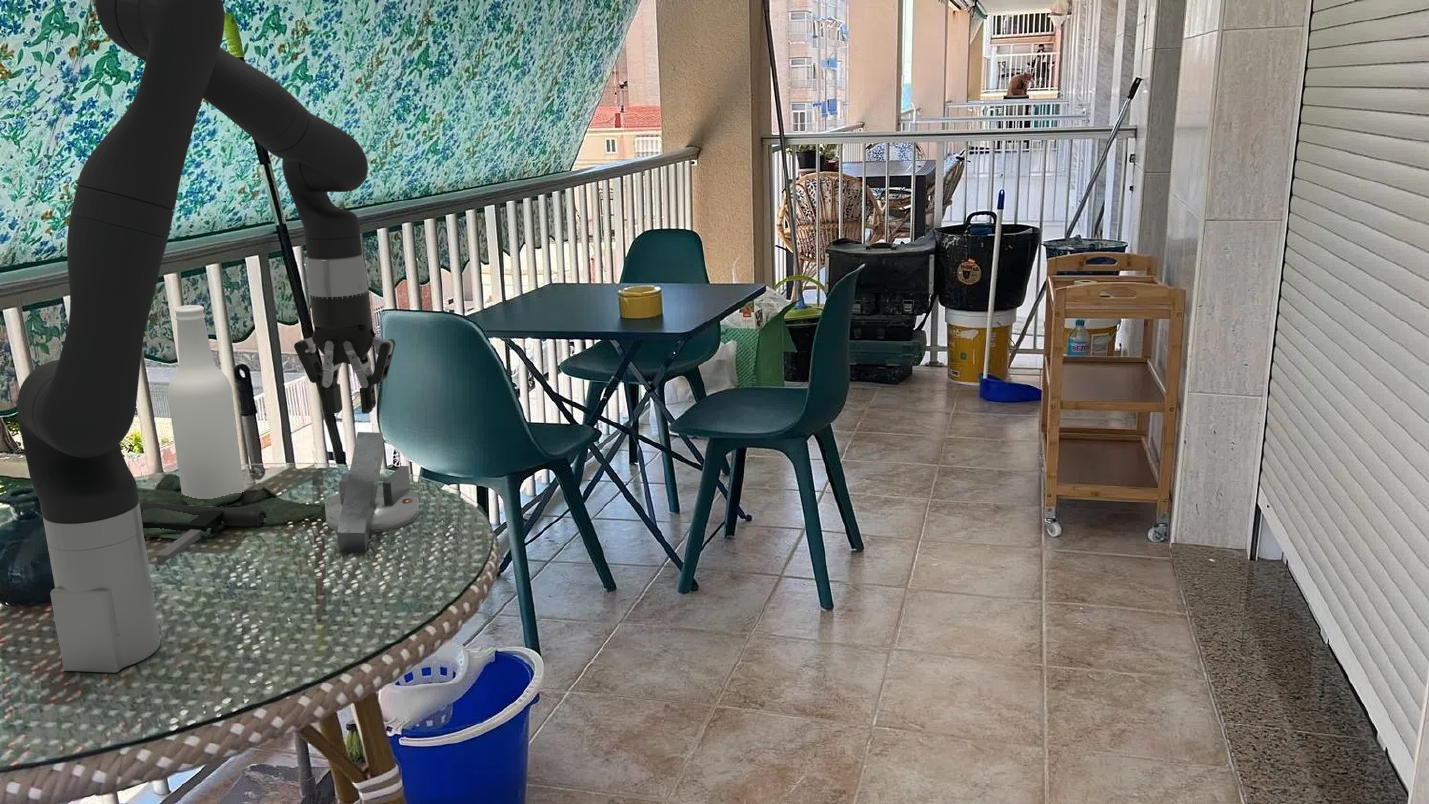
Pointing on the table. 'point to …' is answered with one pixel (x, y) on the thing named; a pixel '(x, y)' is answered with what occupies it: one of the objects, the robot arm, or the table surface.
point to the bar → (360, 493)
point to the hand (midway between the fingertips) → (352, 411)
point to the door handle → (201, 523)
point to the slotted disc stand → (382, 503)
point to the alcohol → (203, 414)
